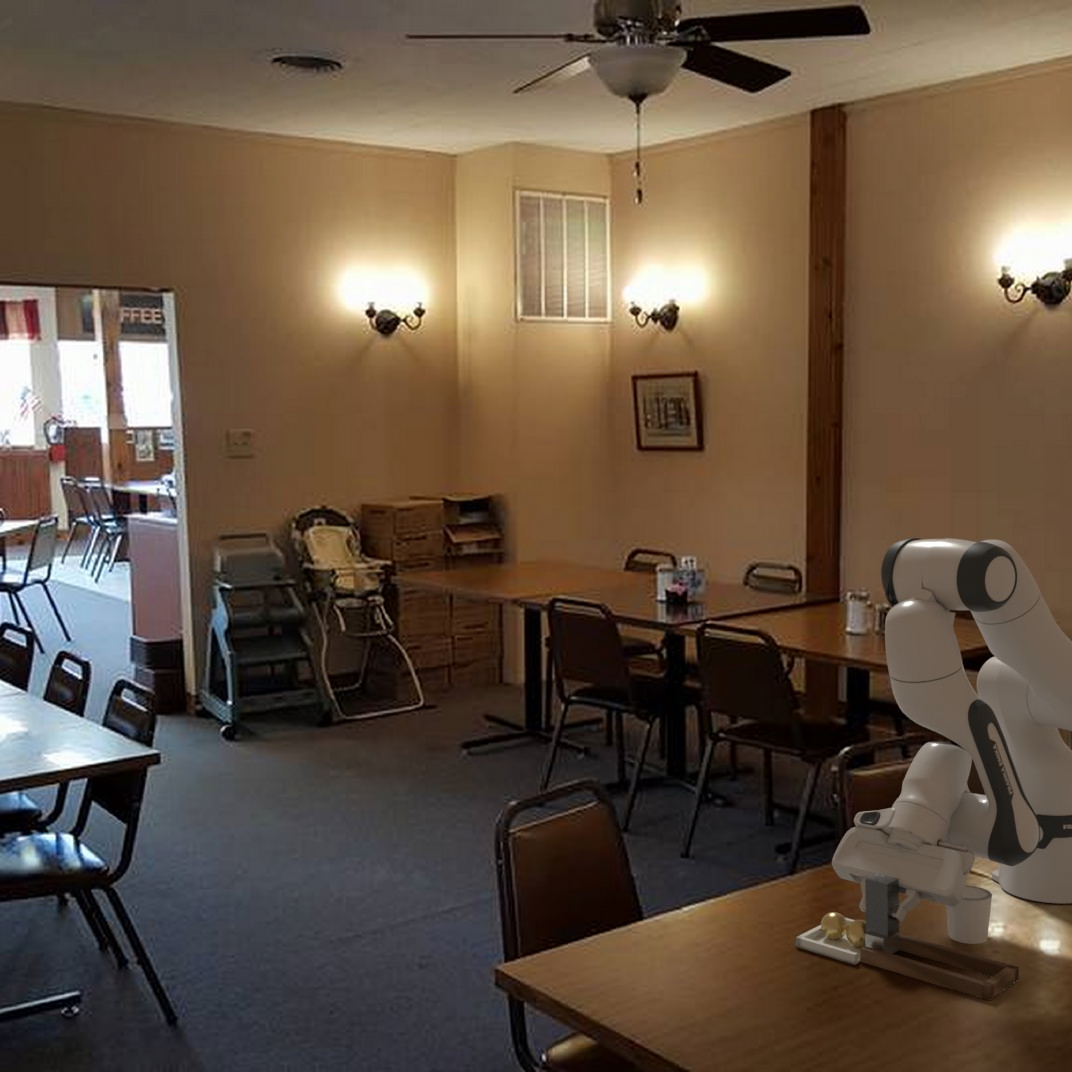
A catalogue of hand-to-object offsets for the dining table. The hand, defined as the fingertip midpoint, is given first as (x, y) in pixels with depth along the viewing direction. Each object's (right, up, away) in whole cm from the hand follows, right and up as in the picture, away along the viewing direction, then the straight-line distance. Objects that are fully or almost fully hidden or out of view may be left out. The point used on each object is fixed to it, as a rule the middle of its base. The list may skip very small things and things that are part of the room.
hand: (880, 914), depth 192 cm
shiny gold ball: (-4, -5, +5) cm, 8 cm away
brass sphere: (-1, -5, +2) cm, 5 cm away
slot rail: (+7, -7, -5) cm, 11 cm away
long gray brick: (+1, -6, +1) cm, 6 cm away
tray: (-4, -6, +5) cm, 9 cm away
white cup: (+15, -6, +7) cm, 18 cm away
